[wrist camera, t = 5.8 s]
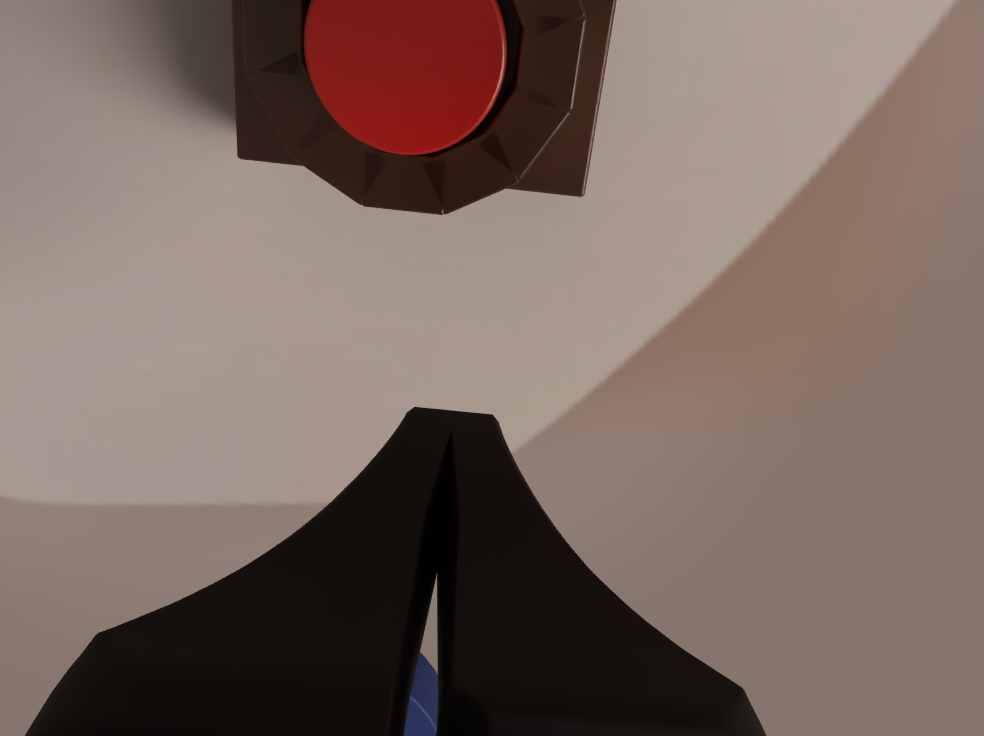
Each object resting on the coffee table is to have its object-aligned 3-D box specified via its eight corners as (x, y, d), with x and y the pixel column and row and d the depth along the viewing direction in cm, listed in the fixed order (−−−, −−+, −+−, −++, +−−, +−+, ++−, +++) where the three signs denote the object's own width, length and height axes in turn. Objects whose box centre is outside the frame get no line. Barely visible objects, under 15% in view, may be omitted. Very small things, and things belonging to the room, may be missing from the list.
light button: (495, 147, 16) (495, 166, 15) (321, 127, 16) (302, 144, 15) (517, -48, 15) (518, -50, 13) (323, -72, 15) (302, -77, 13)
